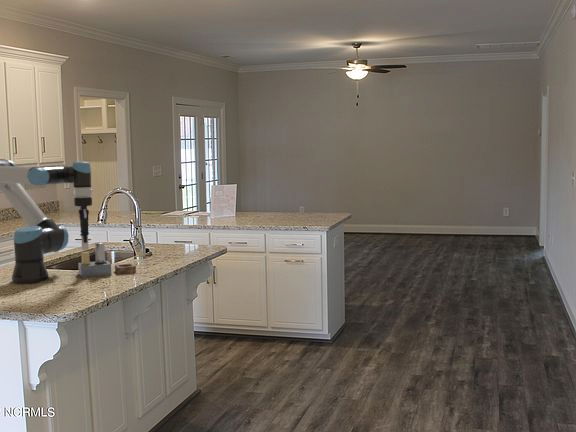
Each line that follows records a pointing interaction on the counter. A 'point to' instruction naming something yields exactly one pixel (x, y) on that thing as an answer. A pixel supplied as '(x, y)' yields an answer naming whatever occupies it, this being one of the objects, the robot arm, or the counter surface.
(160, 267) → the counter surface
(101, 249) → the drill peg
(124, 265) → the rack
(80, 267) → the chuck block
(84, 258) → the tan rectangular block
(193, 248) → the counter surface
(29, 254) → the robot arm
